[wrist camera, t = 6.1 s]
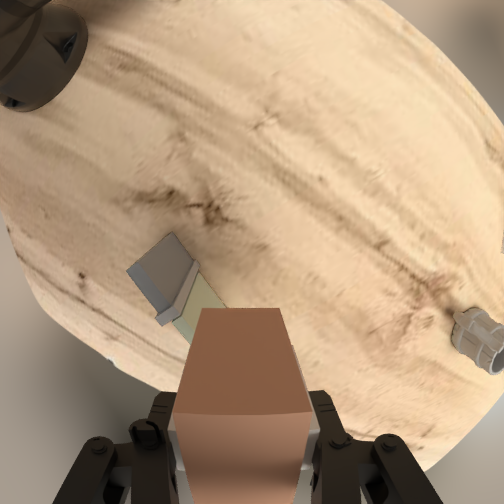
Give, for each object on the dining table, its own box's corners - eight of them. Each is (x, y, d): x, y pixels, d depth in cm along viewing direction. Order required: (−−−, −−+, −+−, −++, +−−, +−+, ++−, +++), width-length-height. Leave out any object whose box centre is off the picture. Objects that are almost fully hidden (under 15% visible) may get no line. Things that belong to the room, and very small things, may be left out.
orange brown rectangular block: (202, 307, 15) (172, 412, 7) (279, 307, 15) (312, 411, 8) (209, 408, 17) (197, 514, 9) (273, 408, 17) (289, 513, 9)
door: (184, 281, 32) (161, 328, 21) (198, 271, 32) (181, 316, 21) (258, 372, 35) (266, 435, 25) (272, 364, 35) (284, 427, 25)
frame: (161, 239, 31) (120, 274, 19) (174, 230, 31) (139, 260, 19) (284, 393, 37) (300, 462, 25) (295, 387, 37) (315, 455, 25)
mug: (462, 354, 38) (503, 392, 27) (429, 327, 36) (478, 370, 25) (487, 318, 37) (533, 349, 25) (459, 284, 35) (514, 317, 23)
